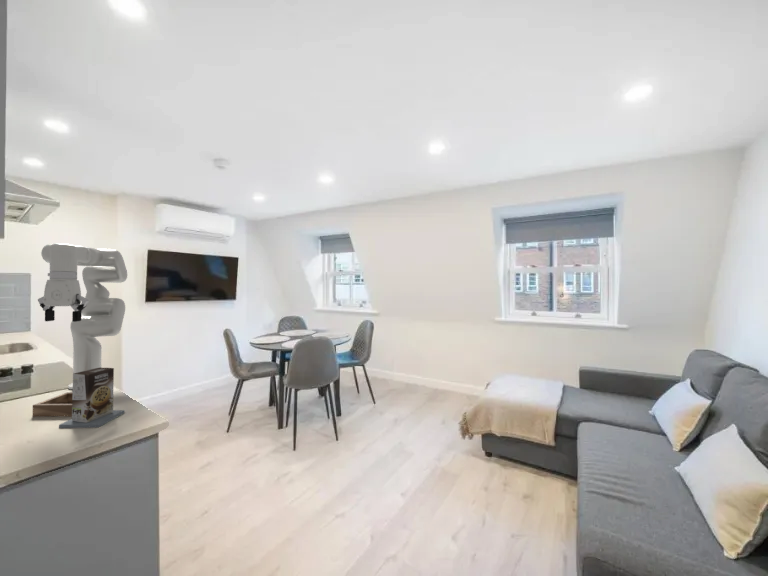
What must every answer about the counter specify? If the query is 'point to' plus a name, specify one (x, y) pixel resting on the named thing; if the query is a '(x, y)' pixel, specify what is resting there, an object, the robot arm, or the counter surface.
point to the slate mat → (93, 423)
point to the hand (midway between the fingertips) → (63, 321)
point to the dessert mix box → (92, 394)
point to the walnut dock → (54, 406)
